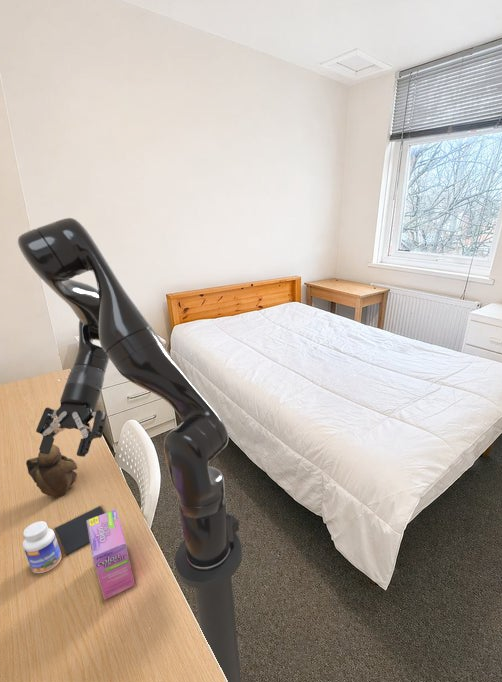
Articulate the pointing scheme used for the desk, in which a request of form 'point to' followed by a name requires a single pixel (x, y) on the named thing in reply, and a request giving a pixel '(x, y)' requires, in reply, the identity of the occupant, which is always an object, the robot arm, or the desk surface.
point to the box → (110, 554)
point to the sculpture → (52, 472)
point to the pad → (76, 531)
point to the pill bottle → (41, 547)
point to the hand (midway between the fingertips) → (62, 455)
